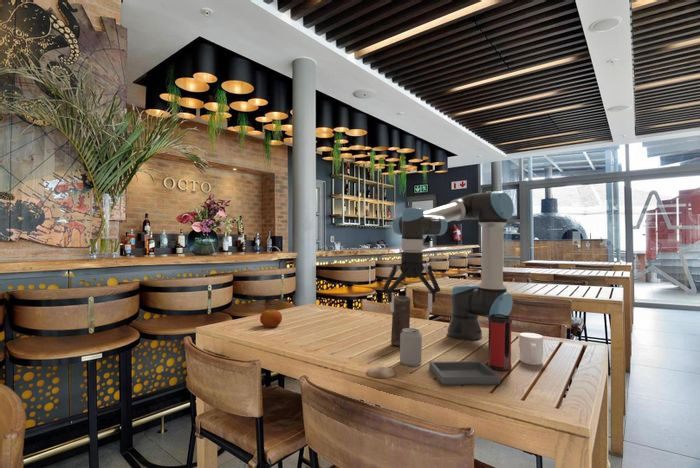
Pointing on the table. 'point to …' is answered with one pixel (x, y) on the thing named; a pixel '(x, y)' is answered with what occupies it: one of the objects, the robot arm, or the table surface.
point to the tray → (463, 373)
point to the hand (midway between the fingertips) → (410, 311)
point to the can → (410, 347)
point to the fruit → (271, 318)
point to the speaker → (499, 342)
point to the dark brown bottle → (400, 318)
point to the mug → (531, 348)
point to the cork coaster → (381, 372)
